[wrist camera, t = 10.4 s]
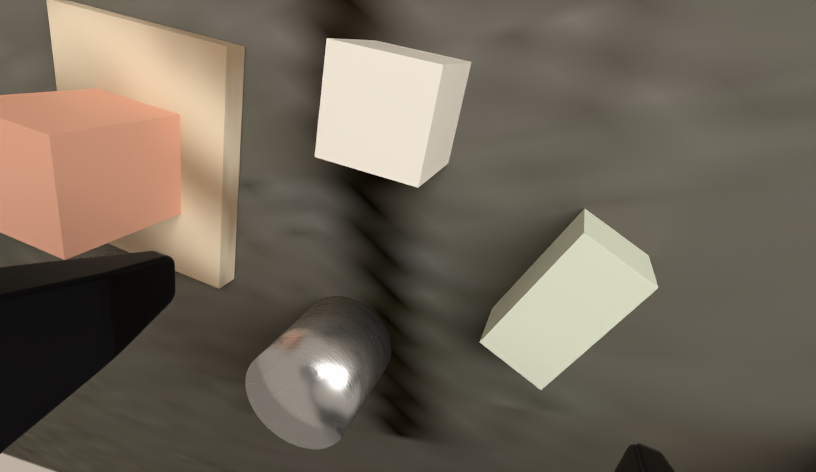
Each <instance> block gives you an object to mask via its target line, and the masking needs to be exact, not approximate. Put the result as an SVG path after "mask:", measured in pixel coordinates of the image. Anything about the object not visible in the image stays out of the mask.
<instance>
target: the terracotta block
mask: <svg viewBox="0 0 816 472" xmlns="http://www.w3.org/2000/svg"><path fill="white" fill-rule="evenodd" d="M179 214H181V139H180V114H177V113H173V112H170V111H167V110H164V109H161V108H157V107H154V106H151V105H148V104H145V103H142V102H138V101H135V100H132V99H129V98H126V97H122V96H119V95H116V94H113V93H110V92H107V91H103V90H100V89H97V88H92V89H79V90H65V91H52V92H38V93H25V94H12V95H0V232H1V233H3V234H5V235H8V236H10V237H12V238H15V239H17V240H19V241H22V242H24V243H26V244H29V245H31V246H33V247H36V248H38V249H40V250H43V251H45V252H47V253H50V254H52V255H54V256H57V257H59V258H61V259H64V260H66V259H69V258H71V257H74V256H76V255H79V254H81V253H84V252H86V251H89V250H91V249H94V248H96V247H99V246H101V245H104V244H106V243H109V242H111V241H114V240H116V239H119V238H121V237H124V236H126V235H129V234H131V233H134V232H136V231H139V230H141V229H144V228H146V227H149V226H151V225H154V224H156V223H159V222H161V221H164V220H166V219H169V218H171V217H174V216H176V215H179Z"/></svg>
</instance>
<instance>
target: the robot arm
mask: <svg viewBox="0 0 816 472" xmlns="http://www.w3.org/2000/svg"><path fill="white" fill-rule="evenodd" d="M174 295H175V262H174V260H173V258H171V257H170V256H168V255H165V254H163V253H160V252H158V251H143V252H134V253H125V254H116V255H106V256H97V257H88V258H79V259H70V260H61V261H52V262H43V263H34V264H25V265H16V266H7V267H0V454H1V453H2V452H3V451H4V450H5V449H6V448H8V447H9V446H10V445H11V444H12V443H14V442H15V441H16V440H17V439H18V438H20V437H21V436H22V435H23V434H24V433H26V432H27V431H28V430H29V429H30V428H32V427H33V426H34V425H35V424H36V423H38V422H39V421H40V420H41V419H42V418H44V417H45V416H46V415H47V414H48V413H50V412H51V411H52V410H53V409H54V408H56V407H57V406H58V405H59V404H60V403H62V402H63V401H64V400H65V399H66V398H68V397H69V396H70V395H71V394H72V393H74V392H75V391H76V390H77V389H78V388H80V387H81V386H82V385H83V384H84V383H86V382H87V381H88V380H89V379H90V378H92V377H93V376H94V375H95V374H96V373H98V372H99V371H100V370H101V369H102V368H103V367H105V366H106V365H107V364H108V363H109V362H110V361H112V360H113V359H114V358H115V357H116V356H117V355H118V354H119V353H120V352H121V351H122V350H123V349H124V348H125V347H126V346H127V345H128V344H129V343H130V342H131V341H132V340H133V339H134V338H135V337H136V336H137V335H138V334H139V333H140V332H141V331H142V330H143V329H144V328H145V327H147V326H148V325H149V324H150V323H151V322H152V321H153V320H154V319H155V318H156V317H157V316H158V315H159V314H160V313H161V312H162V311H163V310H164V309H165V308H166V307H167V306H168V305H169V303H170V302H171V301H172V299H173V297H174ZM614 472H675V471H674V470H673V468H672V467H671V465H670V464H669V463H668V461H667V460H666V458H665V457H664V456H663V455H662V453H661V452H659V451H657V450H655V449H653V448H650V447H648V446H645V445H643V444H640V443H637V442H635V443H632V444H631V445H630V446H629V447H628V448H627V450H626V452H625V453H624V455H623V457H622V459H621V461H620V462H619V464H618V466H617V468H616V469H615V471H614Z"/></svg>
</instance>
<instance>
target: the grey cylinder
mask: <svg viewBox="0 0 816 472" xmlns="http://www.w3.org/2000/svg"><path fill="white" fill-rule="evenodd" d="M390 358H391V341H390V337H389V334H388V332H387V329H386V328H385V326H384V324H383V323H382V321H381V320H380V319H379V317H378V316H377V315H376V314H375V313H374V312H373V311H372V310H371V309H369V308H368V307H366V306H365V305H363V304H362V303H360V302H358V301H356V300H353V299H350V298H346V297H339V296H334V297H327V298H324V299H321V300H320V301H318V302H316V303H315V304H314V305H313V306H312V307H311V308H310V309H309V310H307V311H306V312H305V313H304V314H303V315H302V316H301V317H300V318H299V319H298V320H297V321H296V322H295V323H293V324H292V325H291V326H290V327H289V328H288V329H287V330H286V331H285V332H284V333H283V334H282V335H281V336H279V337H278V338H277V339H276V340H275V341H274V342H273V343H272V344H271V345H270V346H269V347H268V348H267V349H265V350H264V351H263V352H262V353H261V354H260V355H259V356H258V357H257V358H256V359H255V360H254V361H253V362H252V363H251V364H250V366H249V368H248V370H247V373H246V379H245V386H246V392H247V396H248V399H249V402H250V404H251V406H252V408H253V410H254V411H255V413H256V415H257V416H258V417H259V419H260V420H261V421H262V422H263V423H264V424H265V426H266V427H267V428H269V429H270V430H271V431H272V432H273V433H274V434H276V435H277V436H278V437H280V438H282V439H283V440H285V441H287V442H289V443H291V444H293V445H296V446H299V447H302V448H307V449H323V448H327V447H330V446H332V445H334V444H336V443H337V442H338V441H339V440H340V439H341V438H342V436H343V435H344V433H345V432H346V430H347V429H348V427H349V425H350V424H351V422H352V421H353V419H354V417H355V416H356V414H357V413H358V411H359V410H360V408H361V406H362V405H363V403H364V402H365V400H366V399H367V397H368V395H369V394H370V392H371V391H372V389H373V387H374V386H375V384H376V383H377V381H378V380H379V378H380V376H381V375H382V373H383V372H384V370H385V369H386V367H387V365H388V363H389V361H390Z"/></svg>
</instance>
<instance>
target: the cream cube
mask: <svg viewBox="0 0 816 472" xmlns="http://www.w3.org/2000/svg"><path fill="white" fill-rule="evenodd" d="M470 66H471V62H469V61H465V60H460V59H456V58H451V57H447V56H442V55H438V54H433V53H429V52H424V51H420V50H416V49H411V48H407V47H402V46H398V45H393V44H389V43H384V42H380V41H375V40H355V39H333V38H327V41H326V51H325V60H324V70H323V80H322V90H321V99H320V109H319V119H318V129H317V138H316V148H315V157H316V158H320V159H323V160H326V161H330V162H333V163H337V164H340V165H343V166H347V167H350V168H353V169H357V170H360V171H364V172H367V173H370V174H374V175H377V176H380V177H384V178H387V179H390V180H394V181H397V182H401V183H404V184H407V185H411V186H414V187H417V188H418V187H420V186H421V185H422V184H423V183H425V182H426V181H427V180H428V179H430V178H431V177H432V176H433V175H434V174H436V173H437V172H438V171H439V170H441V169H442V168H443V167H444V166H446V165H447V164H448V162H449V158H450V153H451V149H452V145H453V140H454V136H455V132H456V127H457V123H458V118H459V114H460V110H461V105H462V101H463V97H464V92H465V88H466V83H467V79H468V75H469V70H470Z"/></svg>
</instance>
